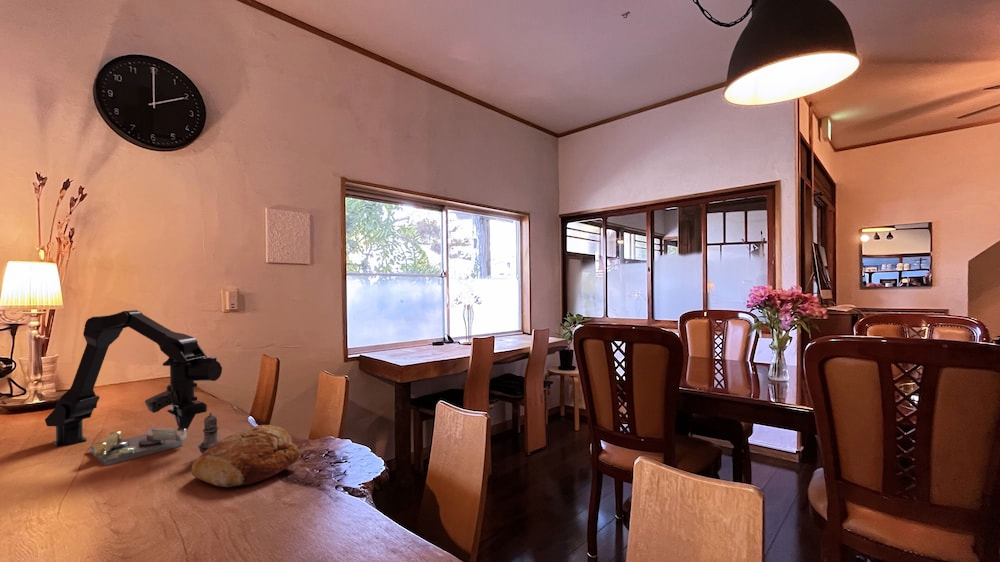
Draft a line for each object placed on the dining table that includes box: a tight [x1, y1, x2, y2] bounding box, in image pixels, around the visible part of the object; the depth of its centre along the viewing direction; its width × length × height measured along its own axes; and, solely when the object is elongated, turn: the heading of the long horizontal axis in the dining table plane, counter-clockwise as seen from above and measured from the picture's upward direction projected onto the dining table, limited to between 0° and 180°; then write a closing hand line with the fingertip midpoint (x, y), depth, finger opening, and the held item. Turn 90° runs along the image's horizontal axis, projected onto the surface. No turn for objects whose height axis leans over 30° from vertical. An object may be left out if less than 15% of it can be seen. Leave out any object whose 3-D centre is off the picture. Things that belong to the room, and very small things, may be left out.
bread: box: [191, 424, 301, 488], centre depth 108 cm, size 20×18×10 cm
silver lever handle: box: [139, 427, 188, 446], centre depth 125 cm, size 13×6×4 cm, turn 86°
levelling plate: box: [89, 433, 184, 467], centre depth 124 cm, size 16×17×2 cm
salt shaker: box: [197, 412, 222, 454], centre depth 118 cm, size 6×6×12 cm
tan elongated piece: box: [93, 430, 129, 456], centre depth 119 cm, size 13×6×4 cm, turn 23°
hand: (183, 433), depth 127 cm, fingers closed
